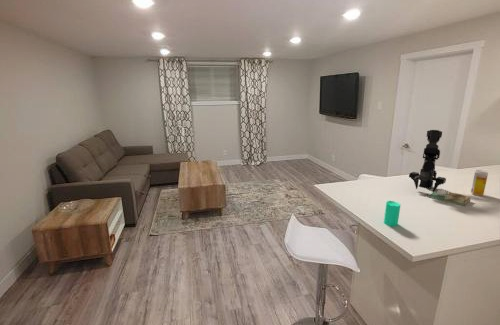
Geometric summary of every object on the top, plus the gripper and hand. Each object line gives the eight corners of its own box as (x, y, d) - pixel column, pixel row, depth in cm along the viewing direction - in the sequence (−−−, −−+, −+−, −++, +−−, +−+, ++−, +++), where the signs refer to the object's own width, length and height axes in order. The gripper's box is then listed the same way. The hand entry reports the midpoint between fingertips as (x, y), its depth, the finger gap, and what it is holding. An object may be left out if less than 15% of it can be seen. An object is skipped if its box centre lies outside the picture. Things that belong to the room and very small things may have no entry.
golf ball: (435, 195, 162) (436, 188, 160) (437, 194, 164) (438, 187, 163) (443, 197, 158) (445, 190, 157) (446, 196, 161) (447, 189, 160)
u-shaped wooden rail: (444, 199, 156) (445, 195, 156) (448, 195, 162) (449, 191, 161) (465, 204, 149) (466, 200, 148) (469, 200, 155) (469, 196, 154)
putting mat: (427, 197, 161) (427, 196, 161) (434, 191, 170) (434, 191, 170) (464, 206, 148) (464, 205, 147) (469, 199, 156) (470, 199, 156)
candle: (381, 220, 131) (384, 198, 128) (392, 220, 131) (395, 197, 128) (388, 226, 125) (391, 203, 122) (400, 226, 126) (403, 202, 123)
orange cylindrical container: (485, 196, 161) (490, 172, 158) (474, 195, 162) (479, 172, 159) (479, 192, 167) (484, 170, 163) (468, 192, 168) (473, 169, 165)
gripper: (407, 166, 165) (403, 189, 169) (442, 172, 152) (438, 197, 155) (413, 163, 172) (410, 185, 176) (448, 168, 159) (443, 193, 162)
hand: (424, 190), depth 167 cm, fingers open, 9 cm apart
